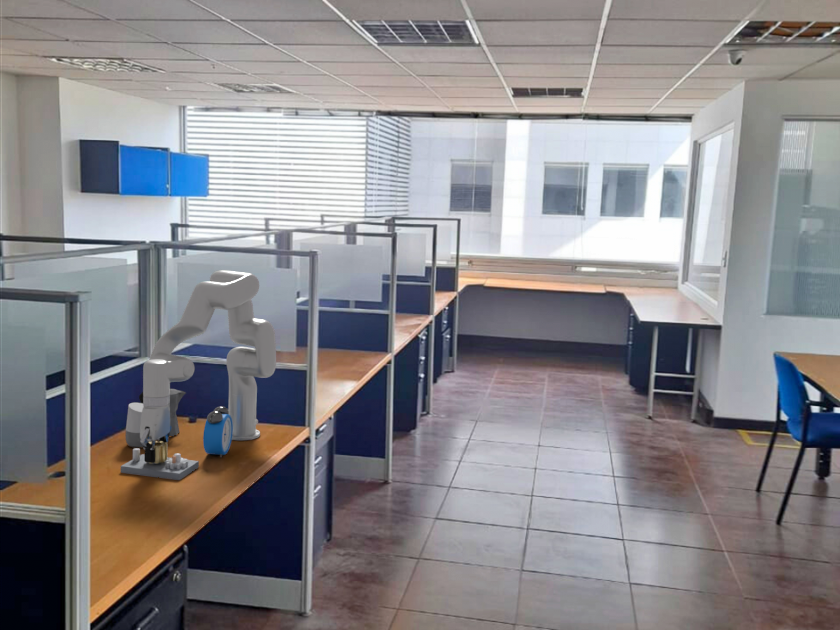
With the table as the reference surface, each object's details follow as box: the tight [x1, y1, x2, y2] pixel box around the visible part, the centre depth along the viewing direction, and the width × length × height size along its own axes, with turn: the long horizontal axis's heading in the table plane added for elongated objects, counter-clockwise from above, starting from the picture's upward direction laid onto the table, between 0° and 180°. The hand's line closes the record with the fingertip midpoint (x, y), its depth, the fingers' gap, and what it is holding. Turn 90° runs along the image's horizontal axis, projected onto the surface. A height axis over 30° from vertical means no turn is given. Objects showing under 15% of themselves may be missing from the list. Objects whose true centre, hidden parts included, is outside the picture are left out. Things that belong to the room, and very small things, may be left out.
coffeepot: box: [138, 388, 187, 437], centre depth 271 cm, size 15×9×18 cm, turn 110°
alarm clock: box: [202, 405, 233, 458], centre depth 254 cm, size 13×6×15 cm, turn 177°
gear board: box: [120, 448, 200, 481], centre depth 237 cm, size 12×19×6 cm, turn 79°
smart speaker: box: [125, 402, 152, 449], centre depth 258 cm, size 10×9×14 cm
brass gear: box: [148, 440, 169, 464], centre depth 237 cm, size 6×6×5 cm
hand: (156, 457), depth 237 cm, fingers closed on brass gear, 6 cm apart
